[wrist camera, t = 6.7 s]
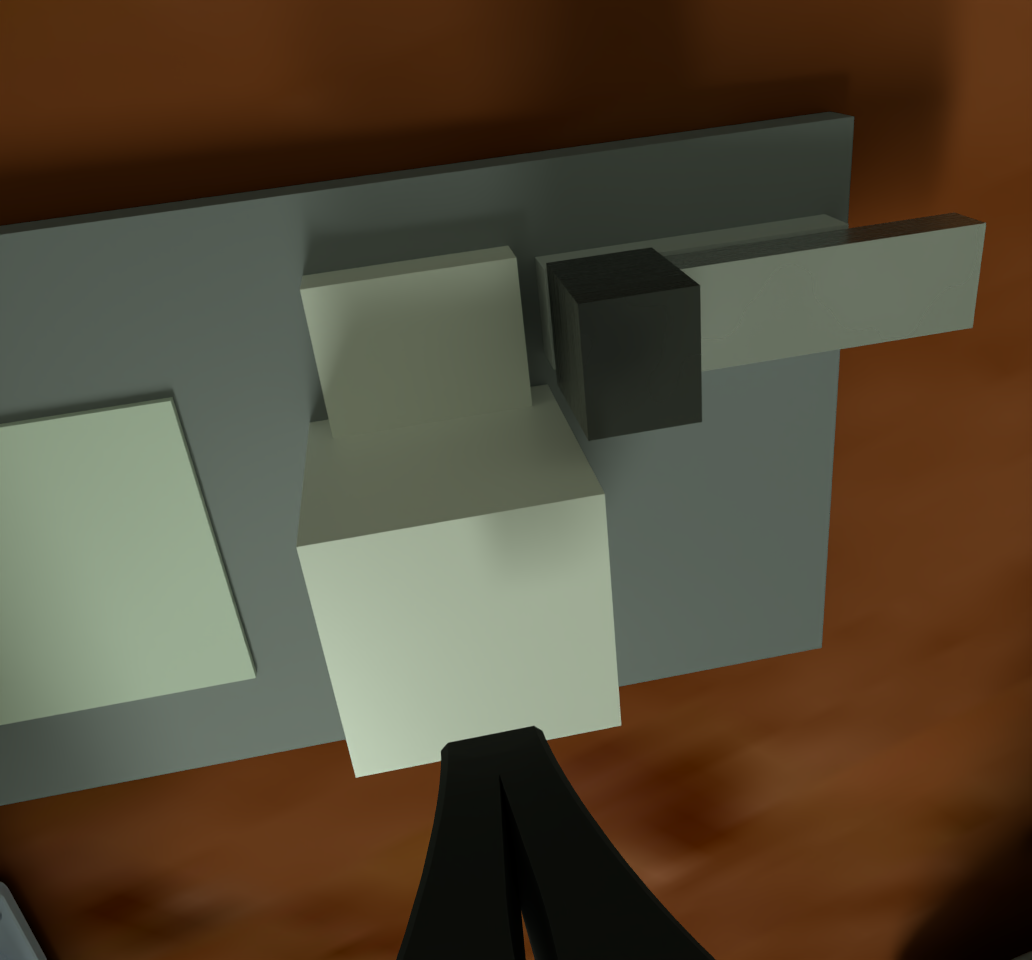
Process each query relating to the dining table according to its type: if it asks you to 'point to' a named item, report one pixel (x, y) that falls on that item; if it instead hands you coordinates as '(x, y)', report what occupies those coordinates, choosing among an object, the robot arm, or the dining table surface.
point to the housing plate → (299, 400)
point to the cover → (448, 518)
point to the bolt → (747, 311)
